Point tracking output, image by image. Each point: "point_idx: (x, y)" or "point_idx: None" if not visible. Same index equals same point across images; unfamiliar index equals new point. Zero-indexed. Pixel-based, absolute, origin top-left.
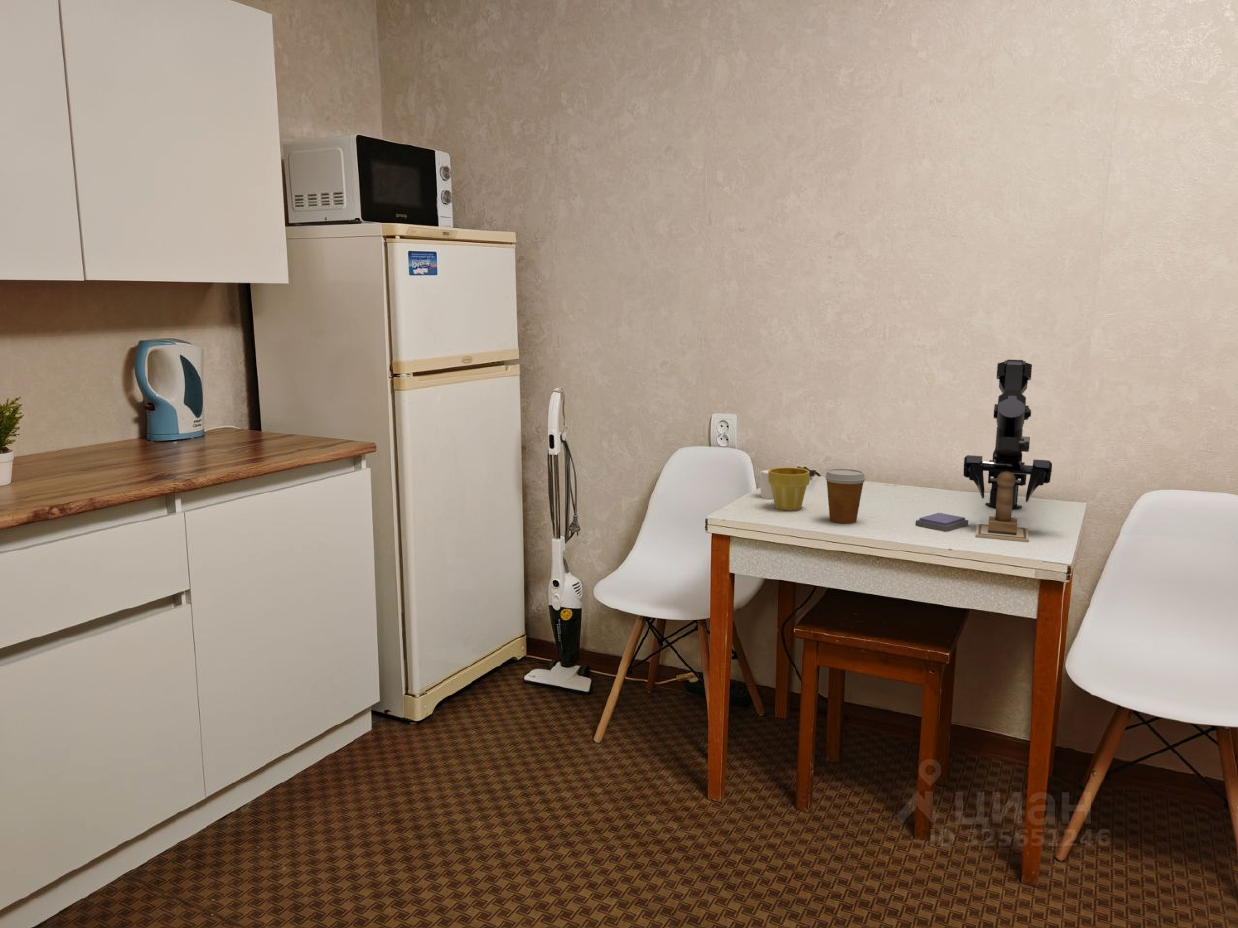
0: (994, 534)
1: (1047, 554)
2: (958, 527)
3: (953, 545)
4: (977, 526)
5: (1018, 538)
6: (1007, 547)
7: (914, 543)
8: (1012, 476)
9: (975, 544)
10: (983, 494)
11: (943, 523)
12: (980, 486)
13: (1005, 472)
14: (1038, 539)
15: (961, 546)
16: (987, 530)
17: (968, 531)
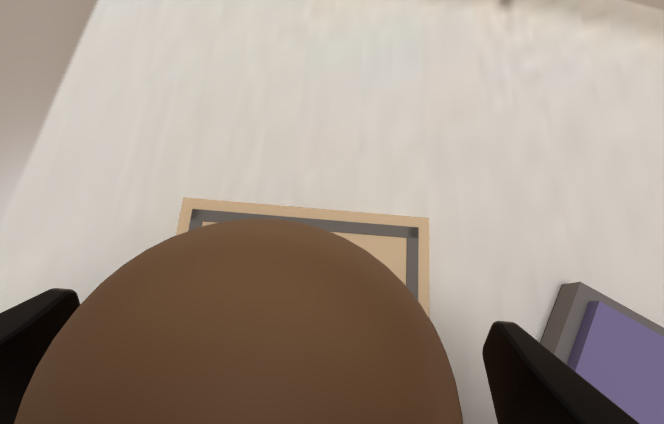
0: None
1: (151, 24)
2: None
3: (500, 55)
4: None
5: (230, 202)
6: (295, 82)
7: (637, 44)
8: (104, 287)
9: (420, 93)
10: (509, 329)
11: (610, 308)
12: (614, 407)
13: (279, 362)
14: None
15: (470, 49)
16: None
17: (462, 333)
